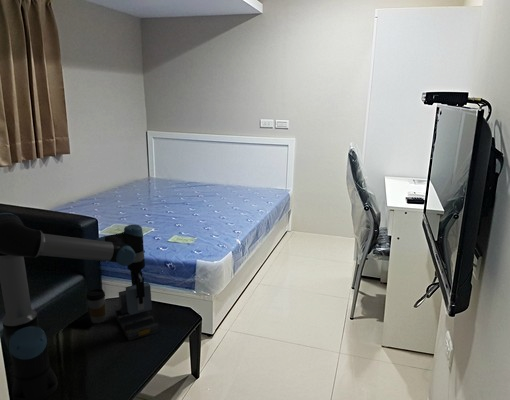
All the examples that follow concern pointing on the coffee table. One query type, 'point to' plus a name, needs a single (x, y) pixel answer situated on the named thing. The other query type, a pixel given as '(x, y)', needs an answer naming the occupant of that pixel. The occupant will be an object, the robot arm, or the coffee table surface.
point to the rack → (134, 320)
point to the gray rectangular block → (132, 300)
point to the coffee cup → (96, 305)
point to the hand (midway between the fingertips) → (139, 306)
